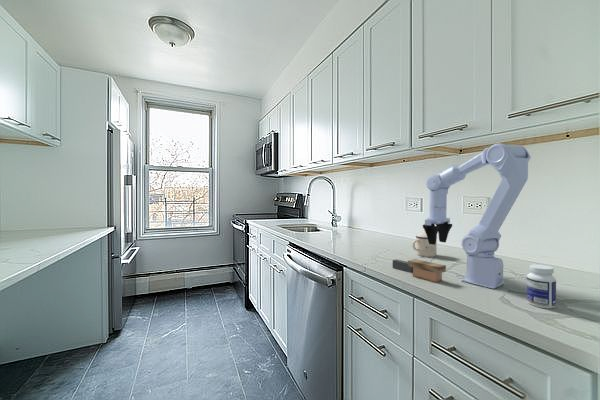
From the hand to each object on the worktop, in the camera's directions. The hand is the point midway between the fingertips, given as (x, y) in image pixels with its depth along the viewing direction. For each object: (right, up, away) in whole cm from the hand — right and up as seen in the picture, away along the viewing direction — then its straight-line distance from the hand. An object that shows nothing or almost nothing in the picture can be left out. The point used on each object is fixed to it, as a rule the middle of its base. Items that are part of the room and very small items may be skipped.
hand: (437, 243), depth 104 cm
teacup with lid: (+5, -10, +24) cm, 26 cm away
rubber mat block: (-13, -10, 0) cm, 16 cm away
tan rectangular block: (-9, -10, -11) cm, 18 cm away
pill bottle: (+10, -11, -33) cm, 36 cm away
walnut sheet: (-9, -7, -11) cm, 16 cm away
